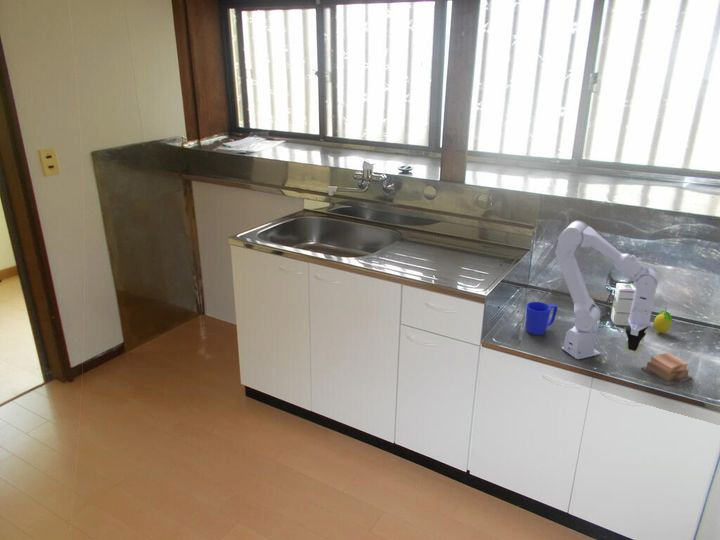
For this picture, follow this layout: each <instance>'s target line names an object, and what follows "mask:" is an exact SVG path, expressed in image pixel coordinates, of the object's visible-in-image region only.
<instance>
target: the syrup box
mask: <svg viewBox="0 0 720 540" xmlns="http://www.w3.org/2000/svg"><path fill="white" fill-rule="evenodd" d="M635 291H636V287H635V285H634V284H632V283H628V282H627V283H626V282H625V283H624V282H620V283H619V282H616V286H615V290H614V297H613V302H612V307H611V312H610V319H611V321H612V324H613V325H615V326H622V327H630V325H629V322H628V318H629V316H630V311H631V307H632V302H633V297H634V293H635Z"/></svg>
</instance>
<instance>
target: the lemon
mask: <svg viewBox="0 0 720 540" xmlns="http://www.w3.org/2000/svg"><path fill="white" fill-rule="evenodd" d="M672 323H673V317H672V314H671V313H670V312H669V311H667V307H665V310H663V309H662V310H660V311H659V313H658V314H657V316H656V317H655V318H654V320H653V329H654V330H655V331H656V332H658V333H659V334H663V333H667V332H669V330H670V329H671V327H672Z"/></svg>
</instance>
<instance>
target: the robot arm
mask: <svg viewBox="0 0 720 540" xmlns="http://www.w3.org/2000/svg"><path fill="white" fill-rule="evenodd" d="M557 240H558V241H557V244H556V249H555V256H556V259H557V262H558V264H559V265H558V266H559V267H560V269H561V273H562V275H563V278H564V281H565V283H566V286H567V289H568V292H569V294H570V296H571V299H572V302H573V315H574V318H575V319H574V326H573V327H572V328H570V329H568V330H567V331H566V333H565V337H564V343H563V346H562V347H561V349H562V350H563V351H565V352H566V353H567V354H569V355H570V356H572V357H573V358H575V359H576V360H581V359H585V358H590V357H594V356H599V355H600V354H601V353H600V351H598V350H597V349H596V345H597V344H596V343H597V339H598V333H599V326H598V321H599V320H600V319H601V317H602V311H601V309H600V307H598V305H597V304H596V303H595V300H594V299H593V298H592V297H590V294H589V292H588V289H587V285H586V283H585V281H584V278H583V275H582V273H581V270H580V268H579V265H578V261H577V259H576V257H575V253H574V252H575V251H576V249H577V247H578V246H579V245H580V244H581V245H580V248H593V249H594V250H595V251H597V252H599V253H600V254H601V255H603V256H605V257H606V258H608V259H609V260H611V262H613V264H614V268H615V269H616V270H617V271H618V272H619V273H621V274H622V275H624V276H625V277H626V278H628V280H631V282H634V286H635V290H636V291H635V293H634V297H633V302H632V307H631V311H630V316H629V318H628V322H629V326H625V334H626V336H627V337H628V349H629V350H633V351H636V349H637V347H638V345H639V343H640V341H641V339H642V338H644V337H645V336H646V334H647V333H646V332H645V331H647V329H648V328H649V327H651V328H652V327H654V325H653V324H654V321H651V318H652V317H651V316H652V313H653V308H654V303H655V299H656V292H657V290H656V289H657V288H658V284H659V282H660V274H659V273H658V271H657V270H656V269H655V268H653V267H649V266H648V265H644V264H643V263H642V262H640V261H639V260H638V259H637V256H636V255H634V254H632V255H631V254H629V253H622V252H621V251H619V250H618V249H617V248H616V247H614V246H613V245H612V244H611V243H610V242H608V240H606V239H605V238H604V237H602V236H601V235H600V234H599V233H598V232H597V231H596V230H595V229H594V227H591V226H590V225H587V224H586V223H585V222H583V221H582V220H574V221H572V222H571V223H569V225H568V226H567V227H566V228H565V229H563V230H562V232H561V233H560V234H559V236H558V237H557ZM627 337H626V338H627Z"/></svg>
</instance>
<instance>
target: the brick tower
mask: <svg viewBox="0 0 720 540" xmlns="http://www.w3.org/2000/svg"><path fill="white" fill-rule="evenodd" d="M687 367H688V362H686V361H684V360H682V359H680V358H679V357H678V356H675V355H674V354H672V353H670V352H665V353H662V354H661V353H660V354H657V355H654V356H651V357H650V361H648V362H647V363H646V366H641V367H640V368H641V370H642V371H643V372H644V373H647V374H649V375H650V376H651V377H653V378H654V379H657V381H659V382H661V383H662V382H663V383H662V384H664V383H665V384H664V385H666V386H667V385H669V386H671V385H675V384H680V383H683V382H687V381H690V380H693V377H692V376H691V375H689V371H690V370H689V369H687Z"/></svg>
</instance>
